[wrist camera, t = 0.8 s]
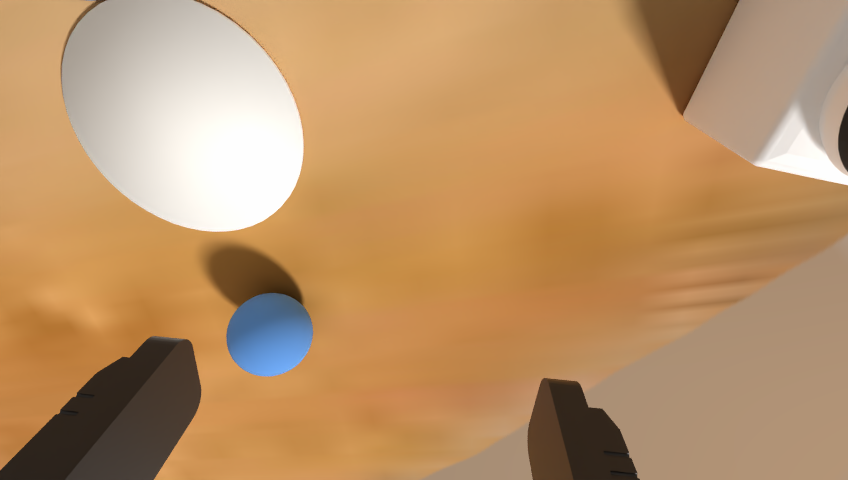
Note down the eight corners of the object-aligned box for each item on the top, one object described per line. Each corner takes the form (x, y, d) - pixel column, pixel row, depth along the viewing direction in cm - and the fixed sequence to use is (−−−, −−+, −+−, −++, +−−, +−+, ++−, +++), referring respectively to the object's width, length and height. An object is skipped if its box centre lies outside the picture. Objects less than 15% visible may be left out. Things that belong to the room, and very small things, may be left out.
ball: (249, 268, 31) (210, 321, 26) (327, 287, 32) (303, 343, 27) (245, 325, 34) (210, 383, 29) (316, 343, 34) (293, 402, 30)
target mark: (43, -45, 22) (39, -45, 22) (318, 36, 23) (317, 36, 23) (82, 199, 29) (80, 200, 29) (291, 252, 30) (290, 253, 30)
